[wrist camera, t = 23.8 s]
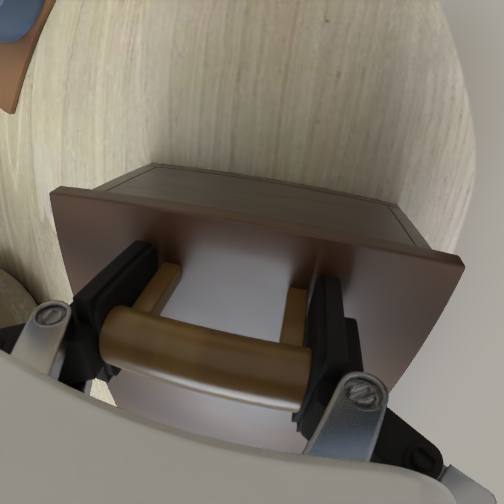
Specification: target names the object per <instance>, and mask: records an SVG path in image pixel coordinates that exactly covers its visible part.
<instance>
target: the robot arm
mask: <svg viewBox="0 0 504 504" xmlns="http://www.w3.org/2000/svg"><path fill="white" fill-rule="evenodd" d="M156 272H157V251H156V248H155V247H153V245H152V243H150V242H145V241H140V240H136V241H134V242H133V243H132V244H131V245H130V246H129V247H127V248H126V249H125V250H124V251H123V252H122V253H121V254H119V255H118V256H117V257H116V258H115V259H114V260H113V261H112V262H110V263H109V264H108V265H107V266H106V267H105V268H104V269H103V270H102V271H100V272H99V273H98V274H97V275H96V276H95V277H94V278H93V279H92V280H91V281H90V282H89V283H87V284H86V285H85V286H84V287H83V288H82V289H81V290H80V291H79V292H78V293H77V294H76V295H75V296H74V297H73V302H72V303H71V304H70V305H68V303H66V302H64V301H59V300H51V301H47V302H44V303H42V304H40V305H39V306H37V307H36V308H35V309H34V311H33V312H32V314H31V315H30V317H29V319H28V321H27V323H23V324H18V325H14V326H9V327H4V328H0V504H496V503H497V502H496V499H495V497H494V495H493V494H492V493H491V492H490V491H489V490H487V489H486V488H484V487H482V486H481V485H480V484H478V483H476V482H475V481H474V480H472V479H471V478H469V477H468V476H466V475H465V474H464V473H462V472H461V471H459V470H458V469H456V468H455V467H453V466H452V465H449V466H448V467H446V466H445V465H443V458H442V455H441V453H440V451H439V449H438V448H437V447H436V446H435V445H434V444H432V443H431V442H430V441H428V440H427V439H426V438H425V437H424V436H422V435H421V434H420V433H418V432H417V431H416V430H415V429H413V428H412V427H411V426H410V425H409V424H407V423H406V422H405V421H404V420H402V419H401V418H400V417H399V416H398V415H396V414H395V413H394V412H393V411H391V410H390V409H389V408H387V403H388V397H389V393H388V390H387V387H386V386H385V384H384V383H383V382H382V381H381V380H380V379H379V378H377V377H376V376H374V375H372V374H370V373H366V372H364V368H363V360H362V353H361V345H360V338H359V332H358V325H357V320H356V319H355V318H348V317H345V315H344V306H343V298H342V290H341V283H340V278H336V277H331V276H325V275H324V276H323V278H322V279H318V278H317V280H316V283H315V287H314V291H313V295H312V298H311V302H310V306H309V310H308V313H307V319H306V331H305V343H304V347H307V348H310V349H311V350H312V366H311V373H310V381H309V386H308V390H307V394H306V397H305V400H304V403H303V406H302V408H301V409H300V411H299V412H297V413H294V412H292V422H296V423H297V429H296V432H299V433H301V435H302V436H303V437H304V438H305V439H306V440H307V441H308V443H307V445H306V446H305V448H304V450H303V452H302V454H294V453H288V452H281V451H275V450H269V449H263V448H258V447H252V446H247V445H242V444H238V443H233V442H229V441H224V440H220V439H216V438H212V437H208V436H204V435H200V434H197V433H193V432H190V431H186V430H183V429H179V428H176V427H173V426H169V425H166V424H163V423H160V422H157V421H154V420H151V419H148V418H145V417H142V416H139V415H137V414H134V413H131V412H129V411H126V410H123V409H121V408H118V407H116V406H113V405H111V404H108V403H106V402H103V401H101V400H98V399H96V398H94V397H92V396H89V395H90V390H91V386H92V379H95V378H97V379H100V380H102V381H105V382H107V383H109V381H110V380H111V378H112V377H113V376H117V375H118V374H119V372H120V371H121V368H119V367H116V366H113V365H110V364H108V363H106V362H105V361H104V360H103V359H102V357H101V355H100V350H99V338H100V332H101V328H102V325H103V323H104V320H105V318H106V316H107V315H108V313H109V312H110V311H111V310H112V309H113V308H114V307H116V306H118V305H124V306H127V307H132V306H133V304H134V303H135V301H136V300H137V299H138V297H139V296H140V294H141V293H142V291H143V290H144V289H145V287H146V286H147V284H148V283H149V282H150V280H151V279H152V277H153V276H154V275H155V273H156Z"/></svg>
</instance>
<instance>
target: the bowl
mask: <svg viewBox="0 0 504 504" xmlns="http://www.w3.org/2000/svg"><path fill="white" fill-rule="evenodd" d="M37 306H38V305H37V304H36V302H35V301H34V299H33V297H32V296H31V295H30V294H29V293H28V291H27V290H26V289H25V288H24V287H23V286H22V285H21V284H20V283H19V282H18V281H17V280H16V279H15V278H14V277H13V276H11V275H9V274H8V273H6V272H5V271H4V270H2V269H0V328H4V327H9V326H14V325H18V324H23V323H27V321H28V319H29V317H30V315H31V314H32V312H33V311H34V309H35V308H36V307H37Z"/></svg>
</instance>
